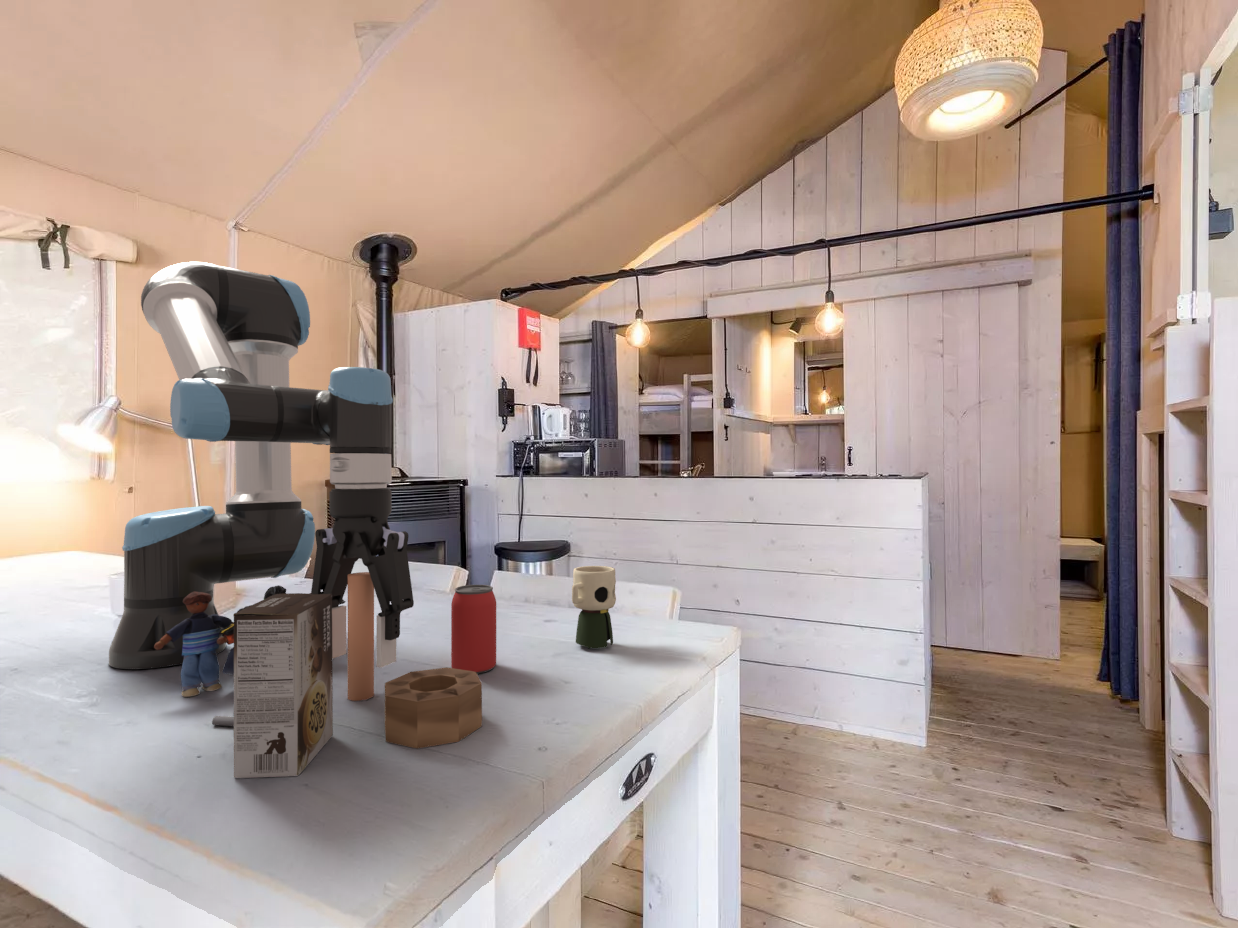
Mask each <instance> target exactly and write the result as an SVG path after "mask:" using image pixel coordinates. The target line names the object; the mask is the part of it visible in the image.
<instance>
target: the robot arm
mask: <svg viewBox="0 0 1238 928" xmlns="http://www.w3.org/2000/svg"><path fill="white" fill-rule="evenodd" d="M140 306H141V310H142V313H143V316H144V318H145V320H146V322H147V324H148V325H149V326H150V327H151V328H152V329H153V330H154V331H155V332H157V333H158V334H159V335H160V336H161V338H162V340H163V343H164V346H165V348H166V351H167V353H168V356H169V358H170V362H171V363H172V366H173V367H174V368H173V369H174V371H175V373H176V375H177V378H178V380H177V381H176V382H175V383H174V385H173V387H172V390H171V394H170V395H171V396H170V406H169V407H170V410H169V411H170V418H171V428H172V430H173V432H174V433H175V434H176V435H177V436H178V437H180V438H182V439H185V440H186V439H187V440H201V441H207V442H210V443H211V442H214V443H215V442H221V441H222V442H234V445H235V446H234V452H235V455H234V456H235V461H234V462H235V493H234V495H232V496H231V498H229V499H228V500H227V501H226V502H225V513H216V511H215V510H214V507H213V506H210V505H199V506H191V507H179V508H173V509H166V510H160V511H154V512H149V513H144V514H141V515H137V516H134V517H132V518H130V519H129V520H128V521H127V523H126V524H125V528H124V537H123V546H122V547H121V548H122V551H123V559H124V560H123V562H124V563H123V571H124V572H123V613H122V616H121V618H120V620H119V623H118V626H117V629H116V631H115V632H114V633H115V634H114V636H113V639H112V642H111V644H110V646H109V649H108V665H109V666H110V667H112V668H116V669H124V670H145V669H157V668H165V667H173V666H177V665H182V664H183V660H184V656H182V647H183V635H182V636H181V637H180V638H179V639H177V640H176V641H174V642H171V641H170V642H169V643H167V644H166V645H164V647H163V648H162V649H160V650H156V649H155V648H154V645H155V644H156V643H157V642H159V641H160V639H161V638H162V637H163V636H164V635H166V632H167V631H169V630H170V629H172V628H173V627H175V626H176V625H177V624H179V623H181V622H182V621H184V620H185V619H188V618H190V617H191V616H192V615H193V613H191V612H189V611H188V609H187V607H186V604H184V603H183V599H184V598H185V597H186V596H187V595H188V594H190V593H192V592H204V593H208V594H210V595H211V596H212V600H211V601H210V602H209V605H208V607H207V609H206V610H205V611H204V613H206V614H207V615H209V616H210V615H212V614H216V615H219V612H218V610H217V608H216V605H215V602H214V599H215V598H214V587H215V585H216V584H217V585H218V584H223V583H224V584H225V583H234V582H242V581H250V580H258V579H266V578H267V579H268V578H273V579H276V578H279V577H282V576H288V575H293V574H298V573H299V572H301V571H302V570H303V569H304V568H305V567H306V566H307V564H308V563H309V561H310V558H311V555H312V554H313V550H314V545H315V542H316V550H315V551H316V552H315V559H314V567H313V574H312V582H311V588H310V593H311V594H332V659H333V660H334V659H336V658H338V657H341V656H344V655H347V605H343V604H345V603H347V602H346V600H345V599H344V596H345V593H346V590H347V588H348V574H352V573H353V569H354V566H355V563H356V562H357V561H358V560H359V559H361V561H362V564H363V565H364V566H366V568H367V570H368V572H369V574H370V577H371V580H372V583H373V586H374V593H375V596H376V597H377V601H378V604H379V607H380V610H381V612H378V613H377V615H376V659H375V661H376V668H384V667H386V666H388V665H391V664H394V663H396V662H397V639H399V637H400V635H401V613H402V612H403V611H405V610H408V609H411V608H413V607H414V596H413V595H414V594H413V588H412V580H411V573H410V565H409V557H408V549H407V548H408V543H409V542H408V541H409V533H408V531H395V530H392V529H391V528H390V525H389V523H388V518H389V516H390V515H391V513H392V499H393V497H392V490H391V489H390V488H389V487H387V486H388V484H389V485H390V484H391V483H392V482H393V474H392V470H393V469H392V433H393V432H392V431H393V430H392V424H393V420H392V419H393V417H392V415H393V402H394V399H393V397H392V385H391V384H392V383H391V382H392V381H391V380H392V379H391V377H390V375H389V374H388V372H386V371H384V370H382V369H378V368H374V367H373V368H370V367H364V366H363V367H362V366H359V367H358V366H342V367H337V368H334V369H333V370H332V371H331V372H330V375H329V384H328V387H327V388H328V389H327V390H326V389H311V388H301V387H300V388H299V387H290V360H291V359H292V358H293V357H294V356H296V355H297V354H298V353H299V347H300V346H302V345H304V344H305V343H306V342H307V340H308V338H309V334H310V329H309V328H311V314H310V313H311V312H310V308H309V302H308V299H307V297H306V294H305V293H304V291H303V289H301V287H300V286H299V285H298V284H297V283H296V282H294V281H292V280H288V279H285V278H280V277H277V276H275V275H274V274H273V275H272V274H268V275H267V274H263V273H258V272H253V271H247V270H243V269H237V268H232V267H229V266H228V267H227V266H222V265H217V264H214V263H210V262H209V263H208V262H203V261H189V262H188V261H187V262H180V263H176V264H173V265H169V266H167V267H165V268H163V269H161V270H159V271H158V272H157V271H156V273H155V274H154V275H152V276H151V277H150V278H149V279H148V280H147V282H146V283H145V285H144V286H143V289H142V291H141V296H140ZM292 443H293V444H294V443H295V444H297V443H298V444H313V445H317V446H321V445H322V446H324V445H325V446H329V483H330V484H331V485H334V488H331V491H329V515H330V517H332V518H334V523H333V525H332V527H329V528H328V527H327V528H319V529H316V524H315V522H314V515H313V514H312V512H311V511H310V510H307V509H305V508H302V499H301V498H300V497H299V496H298V495H296V493H294V491H293V490H292V489H293V487H292V485H293V484H292V455H291V454H292V450H291V449H292V448H291V447H292V446H291V444H292ZM221 629H223V628H222V627H220V630H221ZM220 637H223V636H222V634H219V638H220ZM226 648H227V643H224V644H221V645H219V648H218V649H216V653H217V654H220V653H221V652H223V651H224V650H225V649H226Z"/></svg>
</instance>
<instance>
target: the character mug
mask: <svg viewBox="0 0 1238 928" xmlns="http://www.w3.org/2000/svg"><path fill="white" fill-rule="evenodd" d="M572 571H573V572H572V575H573V576H572V580H573V581H572V582H573V585H572V586H571V601H572V604H573V607H575V608H576V609H578V610H580V612H579V614H578V618H577V619H578V620H577V626H576V636H575V643H576V644H577V645H580V646H582V647H585V648H587V649H603V648H604V649H605V648H608V641H609V642H610V646H612V645H614V636H613V634H614V633H613V626H612V618H611V614H610V612H609V610H611V609H613V608H614V607H615V605H616V602H617V596H616V583H617V581H616V568H614V567H612V566H605V565H584V566H578V567H575V568H573V570H572Z"/></svg>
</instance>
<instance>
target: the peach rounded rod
mask: <svg viewBox="0 0 1238 928" xmlns="http://www.w3.org/2000/svg"><path fill="white" fill-rule="evenodd" d="M374 696H375V589H374V586H373V583H372V580H371V577H370V574H369V571H362V572H361V571H360V572H359V571H358V572H351V574H348V584H347V700H349V701H351V702H360V701H367V700H369V699H371V698H373V697H374Z"/></svg>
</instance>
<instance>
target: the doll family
mask: <svg viewBox="0 0 1238 928" xmlns="http://www.w3.org/2000/svg"><path fill="white" fill-rule="evenodd" d="M275 594H287V589H286V588H285V587H283V586H282V585H278V584H277V585H275V586H270V587H269V588H268V589H267V590H266V591H265V592H264V596H263V600H264V599H266V598H268V597H270V596H273V595H275ZM308 594H311V592H310V593H309V592H308ZM211 600H212V596H211V595H210V594H208V593H204V592H192V593H190V594H188V595H187V596H186V597H185V598H184V599H183V603H184V604H186V607H187V609H188V611H189V612H191V613H193V615H192V616H191V617H190V618H188V619H185V620H184V621H182V622H181V623H179V624H177V625H176V626H175V627H173V628H172V629H170V630H169V631H167V632H166V635H164V636H163V637H162V638H161V639H160V641H159V642H157V643H156V644H155V645H154V648H155V649H156V650H160V649H162V648H163V647H164V645H166V644H167V643H169V642H170V641H171V642H174V641H176V640H177V639H179V638H180V637H181V636H182V635H183V647H182V656H184V660H183V664H181V665H182V666H181V670H180V681H181V682H180V683H181V691H182V692H181V696H182V697H184V698H185V697H187V698H188V697H189V698H190V697H195V696H198V695H199V694H201V691H200V690H199V688H201V689H202V690H203V691H207V692H213V691H216V690H219V689H222V686H223V685H222V684H221V683H220V681H221V680H220V668H221V667H220V663H219V659H218V653H216V649H218V648H219V645H221V644H224V643H226V645H229V646H230V645H232V644H234V621H232V619H231V618H230V617H228V616H225V615H224V616H223V615H219V614H218V615H216V614H212V615H210V616H209V615H207V614H206V613H204V611H205V610H206V609H207V607H208V605H209V602H210V601H211ZM251 605H252V604H251ZM251 605H246V606H244V607H241V608H239V609H238V610H237V611H236V612H239V611H241V610H243V609H245V608H247V607H249V606H251ZM220 627H222V628H223V629H221V630H220ZM219 634H222V636H223V637H220V638H219ZM221 673H222V674H226V675H231V676H234V646H233V647H232V648H230V650H229V652H228V653H227V655H226V659H225V662H224V665H223V669H222V670H221ZM201 685H202V687H201Z"/></svg>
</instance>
